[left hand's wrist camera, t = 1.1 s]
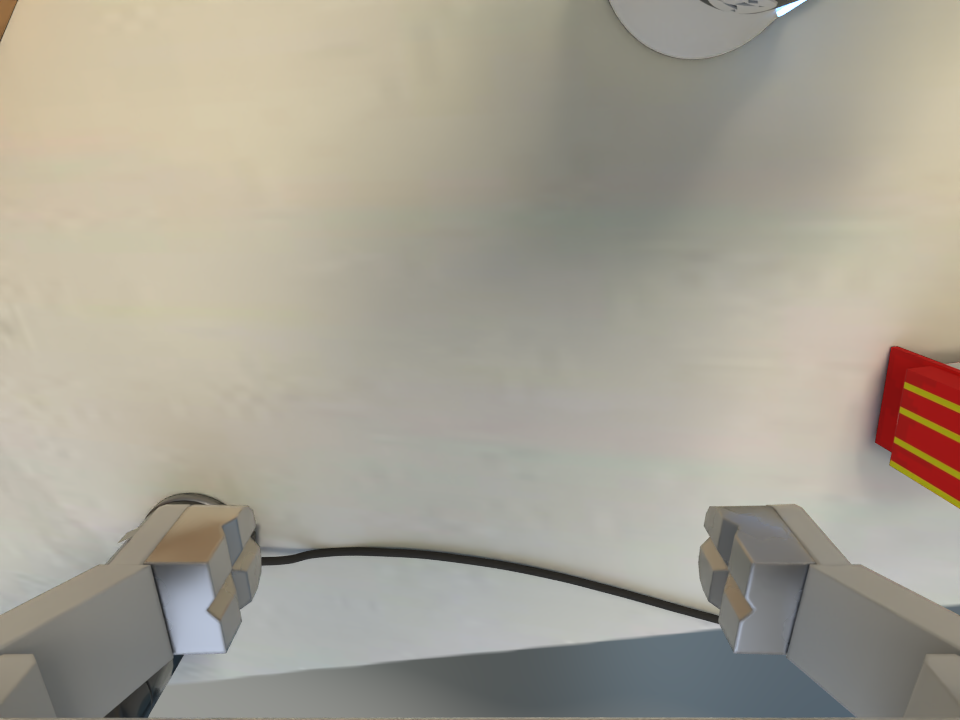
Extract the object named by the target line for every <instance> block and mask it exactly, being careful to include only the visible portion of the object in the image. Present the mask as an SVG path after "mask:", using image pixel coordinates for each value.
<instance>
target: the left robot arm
mask: <svg viewBox="0 0 960 720" xmlns="http://www.w3.org/2000/svg"><path fill="white" fill-rule="evenodd" d="M805 1H808V0H609V2H610V4H611V6H612V8H613V10H614V12H615V14H616V15H617V17H618V18H619V20H620V21H621V23H622V24H623V25H624V26H625V28H626V29H627V30H628V31H629V32H630V33H631V34H632V35H633V36H634V37H635V38H636V39H637V40H639V41H640V42H641V43H643V44H644V45H646V46H647V47H649V48H651V49H653V50H655V51H657V52H659V53H661V54H664V55H667V56H671V57H675V58H681V59H704V58H710V57H715V56H718V55H722V54H725V53H727V52H730V51H732V50H734V49H737V48H738V47H740V46H742V45H744V44H745V43H747V42H749V41H750V40H752V39H753V38H754V37H756V36H757V35H758V34H760V33H761V32H762V31H763V30H764V29H765V28H766V27H767V26H768V25H770V24H771V23H772V22H773V21H774V20H775V19H776V18H778V17H779V16H781V15H783V14H785V13H787V12H788V11H790V10H791V9H793V8H794V7H796V6H798V5H799V4H801V3H803V2H805ZM255 527H256V522H255V518H254V513H253V510H252V509H251V508H250V507H249V506H239V505H190V504H166V505H163V506H160V507H158V508H157V509H156V510H155V512H154V513H153V514H152V515H151V516H150V517H149V518H148V520H147V521H146V522H145V523H144V524H143V525H142V527H141V528H140V529H139V530H138V531H137V532H136V533H135V535H134V536H133V537H132V538H131V539H130V540H129V541H128V543H127V544H126V545H125V546H124V547H123V548H122V550H121V551H120V552H119V553H118V554H117V555H116V556H115V558H114V559H113V560H112V561H111V562H110V563H109V565H97V566H96V567H94V568H92V569H90V570H88V571H86V572H84V573H82V574H80V575H78V576H76V577H74V578H72V579H70V580H68V581H66V582H64V583H62V584H60V585H58V586H56V587H55V588H53V589H51V590H49V591H47V592H45V593H43V594H41V595H39V596H37V597H35V598H33V599H31V600H29V601H27V602H25V603H23V604H21V605H19V606H17V607H15V608H14V609H12V610H10V611H8V612H6V613H4V614H2V615H0V720H960V615H958V614H956V613H954V612H952V611H950V610H948V609H946V608H944V607H942V606H940V605H938V604H936V603H935V602H933V601H931V600H929V599H927V598H925V597H923V596H921V595H919V594H917V593H915V592H913V591H911V590H909V589H907V588H905V587H903V586H901V585H899V584H898V583H896V582H894V581H892V580H890V579H888V578H886V577H884V576H882V575H880V574H878V573H876V572H874V571H872V570H870V569H868V568H866V567H864V566H863V565H851V563H850V562H849V561H848V560H847V559H846V558H845V556H844V555H843V554H842V553H841V552H840V551H839V550H838V548H837V547H836V546H835V545H834V544H833V543H832V542H831V540H830V539H829V538H828V537H827V536H826V535H825V533H824V532H823V531H822V530H821V529H820V528H819V527H818V525H817V524H816V523H815V522H814V521H813V520H812V519H811V517H810V516H809V515H808V514H807V513H806V512H805V510H804V509H803V508H802V507H800V506H798V505H796V504H781V505H766V506H710V507H709V509H708V511H707V513H706V516H705V522H704V527H705V529H706V531H707V532H708V534H709V536H710V537H709V538H708V539H707V540H706V541H705V542H704V543H703V544H702V545H701V546H700V553H699V561H698V565H699V576H700V581H701V585H702V588H703V591H704V593H705V595H706V597H707V599H708V601H709V602H710V603H712V604H713V605H714V606H716V607H717V608H718V609H720V614H719V619H718V622H719V624H720V626H721V628H722V630H723V632H724V634H725V636H726V638H727V640H728V642H729V644H730V646H731V648H732V650H733V652H734V653H740V654H775V655H787V656H786V657H787V658H788V659H789V660H790V661H791V662H792V663H794V664H795V665H796V666H797V667H798V668H799V669H801V670H802V671H803V672H804V673H805V674H806V675H808V676H809V677H810V678H811V679H812V680H813V681H815V682H816V683H817V684H818V685H819V686H820V687H822V688H823V689H824V690H825V691H826V692H827V693H829V694H830V695H831V696H832V697H833V698H835V699H836V700H837V701H838V702H839V703H840V704H842V705H843V706H844V707H845V708H846V709H847V710H849V711H850V712H851V713H852V714H853V715H854V716H856V717H857V718H103V717H105V716H106V715H107V714H108V713H109V712H110V711H112V710H113V709H114V708H115V707H116V706H117V705H119V704H120V703H121V702H122V701H123V700H124V699H126V698H127V697H128V696H129V695H130V694H132V693H133V692H134V691H135V690H136V689H137V688H139V687H140V686H141V685H142V684H143V683H144V682H146V681H147V680H148V679H149V678H150V677H151V676H153V675H154V674H155V673H156V672H157V671H159V670H160V669H161V668H162V667H163V666H164V665H166V664H167V663H168V662H169V661H170V660H171V659H173V657H174V656H173V655H185V654H219V653H226V652H227V650H228V648H229V646H230V644H231V642H232V640H233V638H234V636H235V634H236V632H237V630H238V628H239V626H240V624H241V622H242V619H241V614H240V609H242V608H243V607H244V606H246V605H247V604H248V603H250V602H251V601H252V599H253V597H254V595H255V593H256V591H257V589H258V584H259V580H260V575H261V552H260V546H259V545H258V544H257V543H256V542H255V541H254V540H253V539H252V538H251V537H250V536H251V534H252V532H253V531H254V529H255Z"/></svg>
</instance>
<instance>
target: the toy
mask: <svg viewBox="0 0 960 720" xmlns="http://www.w3.org/2000/svg"><path fill="white" fill-rule="evenodd" d="M875 443H877V444H878V445H880V446H882V447H883V448H885V449H887V450H888V451H890V452H892V453H891V459H890V464H889V465H890V466H891V467H893V468H895V469H896V470H898V471H900V472H901V473H903V474H904V475H906V476H908V477H909V478H911V479H913V480H914V481H916V482H917V483H919V484H921V485H922V486H924V487H925V488H927V489H929V490H930V491H932V492H934V493H935V494H937V495H938V496H940V497H942V498H943V499H945V500H947V501H948V502H950V503H951V504H953V505H955V506H956V507H958V508H959V509H960V362H956V363H948V364H943V363H940V362H938V361H935V360H932V359H930V358H927V357H924V356H922V355H919V354H916V353H914V352H911V351H908V350H906V349H903V348H900V347H898V346H896V347H891V352H890V358H889V364H888V370H887V375H886V381H885V387H884V393H883V399H882V405H881V411H880V417H879V423H878V428H877V434H876V440H875Z"/></svg>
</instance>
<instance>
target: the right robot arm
mask: <svg viewBox="0 0 960 720" xmlns="http://www.w3.org/2000/svg"><path fill="white" fill-rule="evenodd" d="M166 504H190V505H224V504H222V503H221V502H219V501H217V500H215V499H212V498H210V497H207V496H203V495H199V494H178V495H174V496H171V497H168V498H166V499H164V500H162V501H161V502H160V503H158V504H157V505H156V506H155V507H154V508H153V509H152V511H151V512H150V513H149V514H148V515H147V517H146V518H145V520H144V521H143V522H142V523H141V524H140V526H139V527H138V528H137V529H135V530H132V531H130V532H128V533H126V535H125V536H124V537H123V538H122V539H121V540H120V541H119V542H122V541H124V540H126V539H127V540H126V541H125V542H124V544H123V545H122V546H121V547H120V548H119V549H118V550H117V551H116V553H115V554H114V555H113V556H112V557H111V558H110V559H109V560H108V562H107V563H106V564H105V565H109V563H110V562H111V561H112V560H113V559H114V558H115V556H116V555H117V554H118V553H119V552H120V551H121V550H122V548H123V547H124V546H125V545H126V544H127V543H128V541H129V540H130V539H131V538H132V537H133V536H134V535H135V533H136V532H137V531H138V530H139V529H140V528H141V527H142V525H143V524H144V523H145V522H146V521H147V520H148V518H149V517H150V516H151V515H152V514H153V513H154V512H155V510H156V509H157V508H158V507H160V506H163V505H166ZM250 537H251V538H252V539H253V540H254V541H255V532H254V531H253V532H252V534H251V536H250ZM119 542H118V543H119ZM330 556H386V557H407V558H421V559H431V560H440V561H448V562H456V563H464V564H471V565H478V566H485V567H491V568H497V569H503V570H509V571H514V572H519V573H524V574H529V575H534V576H539V577H544V578H548V579H553V580H557V581H562V582H566V583H570V584H574V585H578V586H582V587H586V588H590V589H594V590H597V591H601V592H605V593H609V594H612V595H616V596H620V597H624V598H627V599H631V600H635V601H638V602H642V603H645V604H649V605H652V606H656V607H659V608H663V609H666V610H670V611H673V612H677V613H680V614H684V615H688V616H692V617H695V618H699V619H703V620H706V621H710V622H714V623H717V624H719V622H718V619H719V616H717V615H713V614H709V613H706V612H702V611H698V610H695V609H691V608H687V607H684V606H680V605H676V604H673V603H669V602H666V601H662V600H659V599H655V598H652V597H648V596H645V595H641V594H638V593H634V592H631V591H627V590H624V589H620V588H616V587H612V586H609V585H605V584H601V583H597V582H594V581H590V580H586V579H582V578H578V577H574V576H570V575H566V574H562V573H557V572H553V571H548V570H544V569H539V568H534V567H529V566H524V565H519V564H514V563H509V562H503V561H497V560H491V559H485V558H478V557H471V556H463V555H456V554H448V553H440V552H431V551H421V550H407V549H384V548H331V549H320V550H311V551H306V552H302V553H298V554H295V555H289V556H280V557H261V566H263V565H282V564H290V563H295V562H299V561H302V560H306V559H311V558H319V557H330ZM173 656H174V657H173V659H171V660H170V661H169V662H168V663H167V664H166V665H164V666H163V667H162V668H161V669H160V670H159V671H157V672H156V673H155V674H154V675H153V676H151V677H150V678H149V679H148V680H147V681H146V682H144V683H143V684H142V685H141V686H140V687H139V688H137V689H136V690H135V691H134V692H133V693H132V694H130V695H129V696H128V697H127V698H126V699H124V700H123V701H122V702H121V703H120V704H119V705H117V706H116V707H115V708H114V709H113V710H112V711H110V712H109V713H108V714H107V715H106V716H105V717H103V718H148V716H149V714H150V712H151V711H152V709H153V707H154V705H155V704H156V702H157V700H158V699H159V697H160V695H161V693H162V692H163V690H164V688H165V686H166V685H167V683H168V681H169V680H170V678H171V676H172V675H173V673H174V671H175V669H176V668H177V666H178V664H179V662H180V661H181V659H182V657H183V656H184V655H173Z"/></svg>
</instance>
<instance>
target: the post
mask: <svg viewBox="0 0 960 720" xmlns="http://www.w3.org/2000/svg"><path fill="white" fill-rule="evenodd" d="M16 2H17V0H0V40H1V38H2V35H3V33H4V31H5V28H6V26H7V23H8V21H9V19H10V16H11V14H12V12H13V9H14V7H15V4H16Z"/></svg>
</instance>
